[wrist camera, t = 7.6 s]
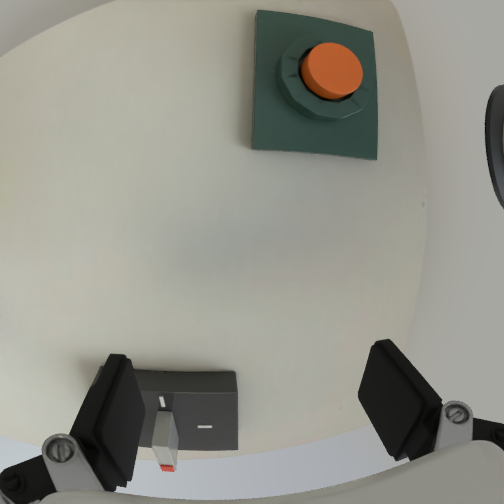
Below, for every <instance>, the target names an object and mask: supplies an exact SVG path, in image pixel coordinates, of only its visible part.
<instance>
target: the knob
mask: <svg viewBox="0 0 504 504" xmlns="http://www.w3.org/2000/svg"><path fill="white" fill-rule="evenodd" d="M178 441H179V437H178V433H177V429H176V425H175V421H174V417H173V413H172V412H170V411H157V416H156V421H155V427H154V433H153V439H152V445H151V446H152V448H153V451H154V453H155V456H156V458H157V460H158V463H159V465H160V467H161V469H162V471H170V472H174V471H176V468H177V467H176V466H177V454H178Z"/></svg>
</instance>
